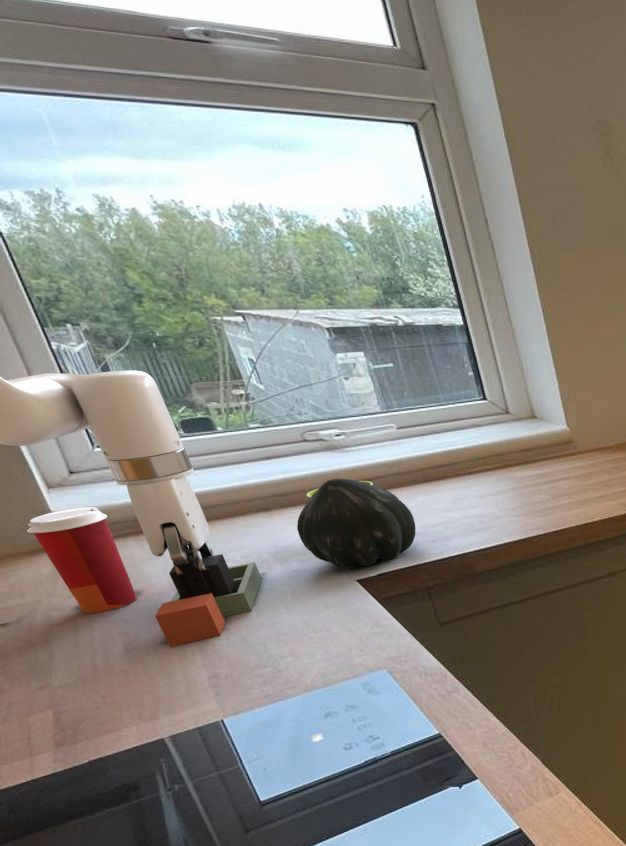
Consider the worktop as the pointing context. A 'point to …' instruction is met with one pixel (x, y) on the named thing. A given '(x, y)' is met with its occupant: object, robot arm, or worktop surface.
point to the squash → (355, 524)
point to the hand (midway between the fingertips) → (208, 589)
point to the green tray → (238, 590)
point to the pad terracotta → (190, 619)
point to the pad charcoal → (218, 572)
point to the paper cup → (85, 557)
